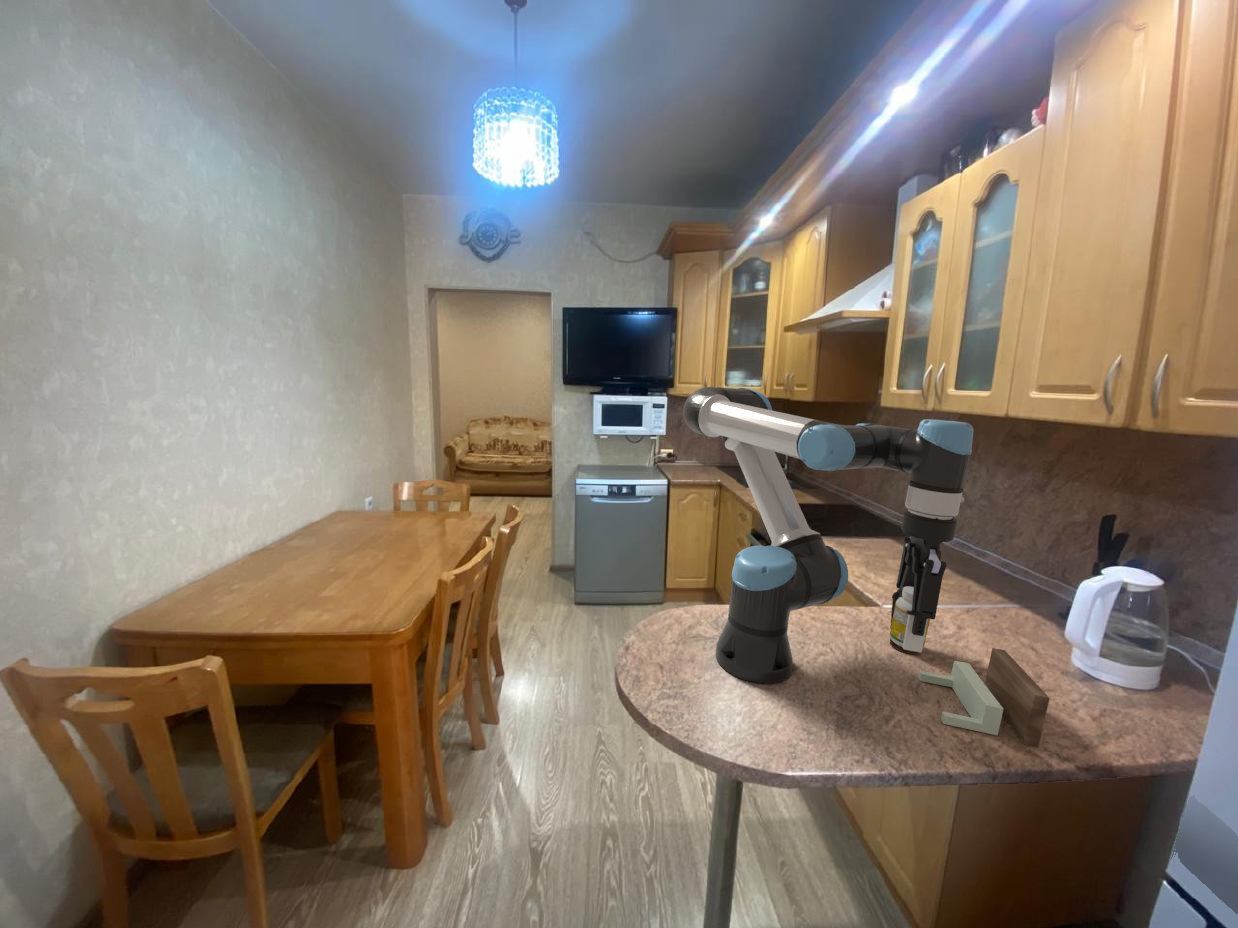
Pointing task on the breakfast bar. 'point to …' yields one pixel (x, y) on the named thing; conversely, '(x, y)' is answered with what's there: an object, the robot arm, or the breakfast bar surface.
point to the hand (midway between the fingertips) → (906, 640)
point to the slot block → (969, 699)
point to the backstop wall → (1017, 697)
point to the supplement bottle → (902, 616)
